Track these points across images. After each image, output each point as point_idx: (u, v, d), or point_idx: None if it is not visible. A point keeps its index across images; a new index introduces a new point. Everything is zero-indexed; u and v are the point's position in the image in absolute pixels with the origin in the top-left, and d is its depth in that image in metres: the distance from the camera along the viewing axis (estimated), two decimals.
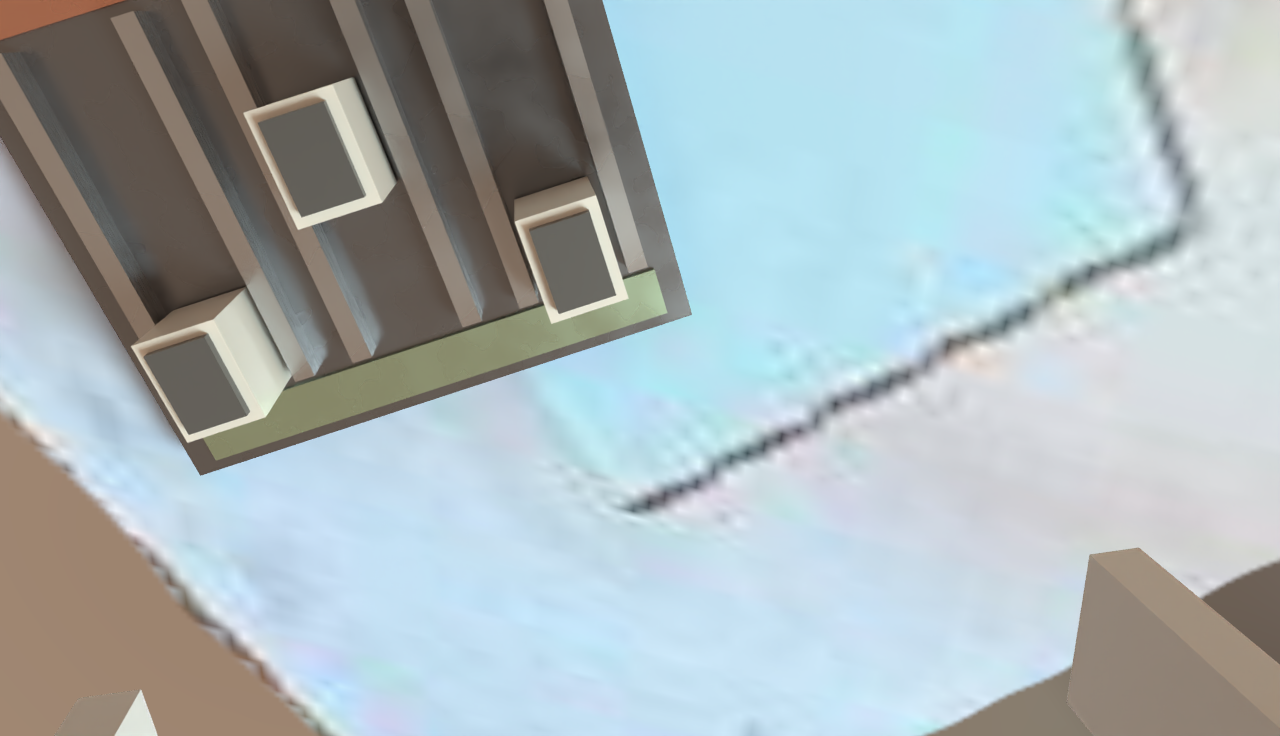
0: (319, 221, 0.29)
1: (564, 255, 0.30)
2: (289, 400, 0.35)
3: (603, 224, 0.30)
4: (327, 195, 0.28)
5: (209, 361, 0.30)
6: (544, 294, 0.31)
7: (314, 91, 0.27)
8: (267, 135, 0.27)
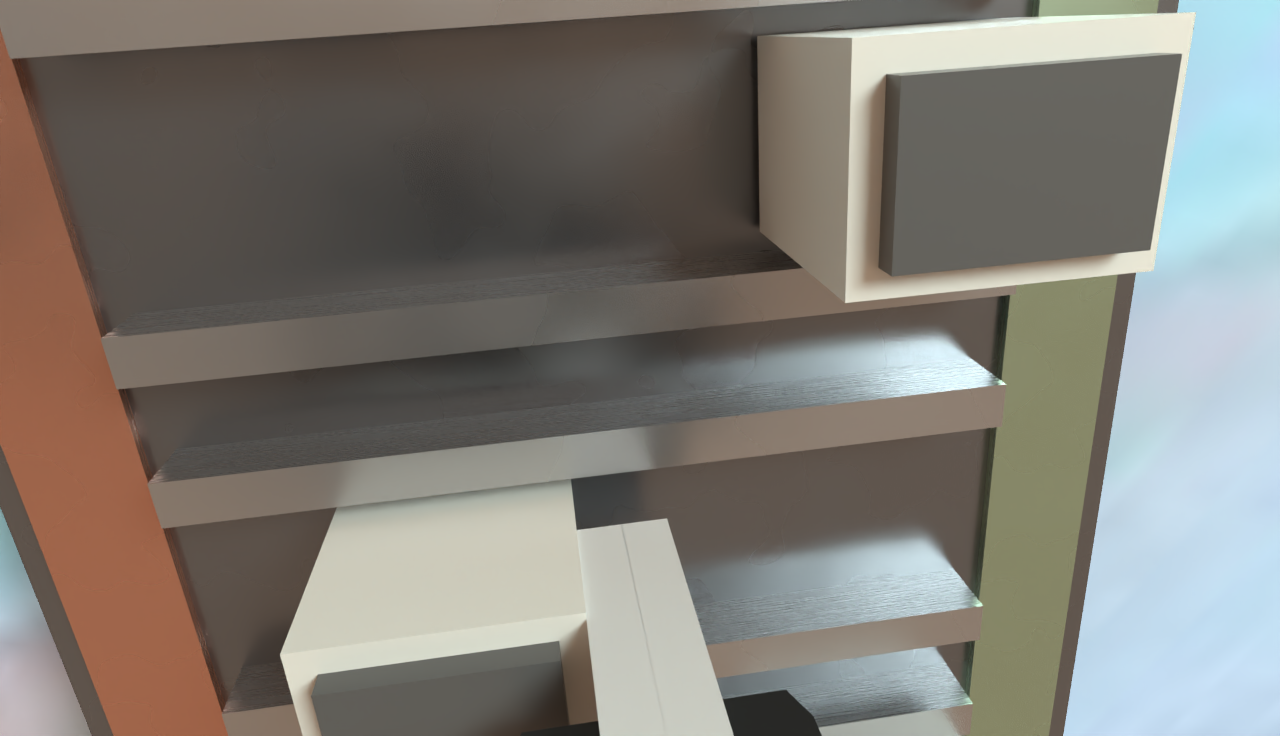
0: None
1: (997, 190, 0.10)
2: (987, 726, 0.19)
3: (946, 36, 0.09)
4: (537, 729, 0.12)
5: None
6: (1068, 269, 0.11)
7: (294, 690, 0.11)
8: None
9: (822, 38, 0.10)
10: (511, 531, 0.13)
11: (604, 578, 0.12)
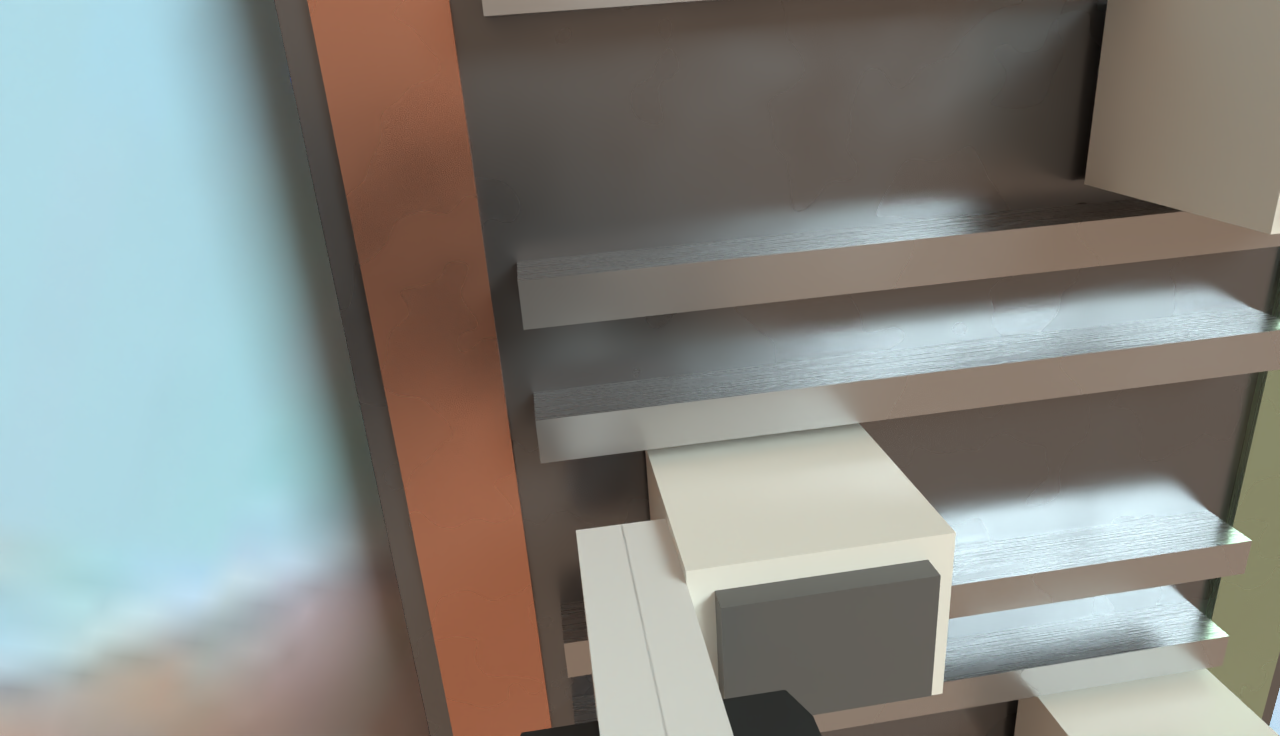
0: (943, 655, 0.13)
1: None
2: None
3: None
4: (908, 642, 0.13)
5: None
6: None
7: None
8: None
9: None
10: (834, 468, 0.14)
11: (604, 579, 0.12)
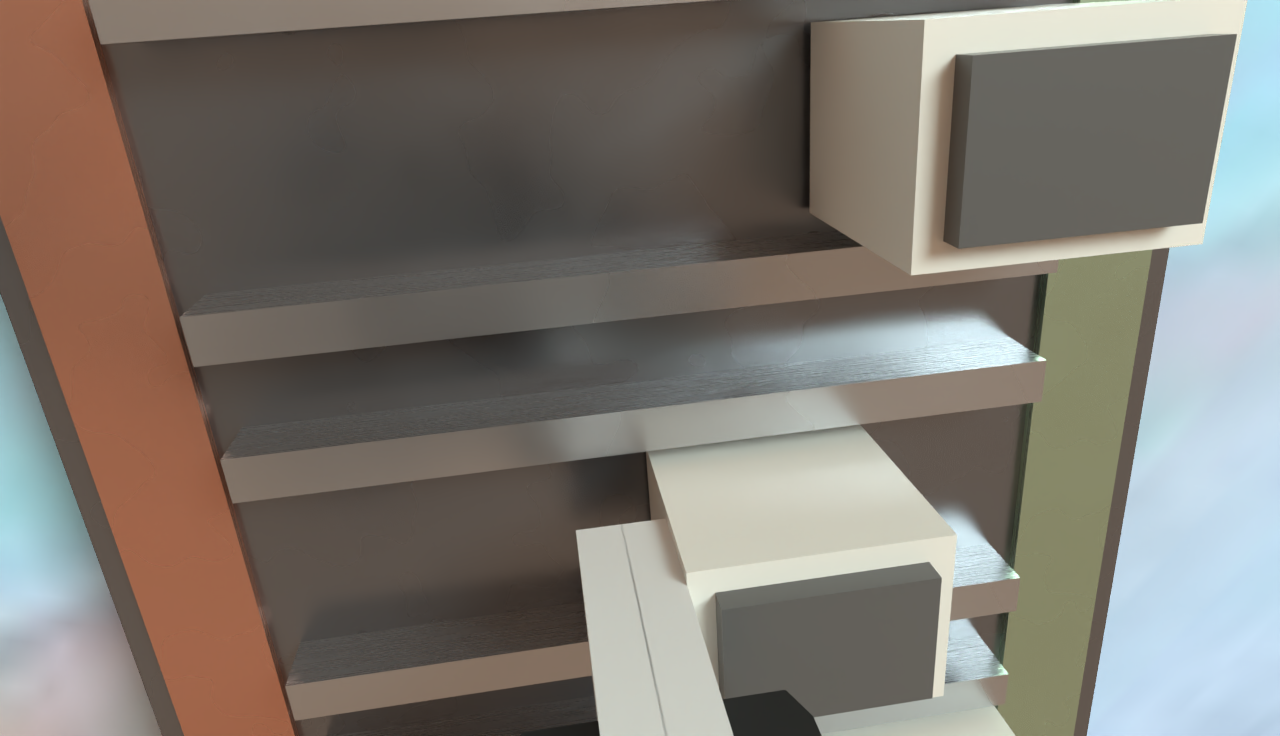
0: (944, 657, 0.13)
1: (1060, 165, 0.10)
2: (1018, 697, 0.19)
3: (1013, 18, 0.10)
4: (909, 644, 0.12)
5: None
6: (1122, 242, 0.11)
7: None
8: None
9: (889, 21, 0.11)
10: (835, 469, 0.14)
11: (604, 578, 0.12)
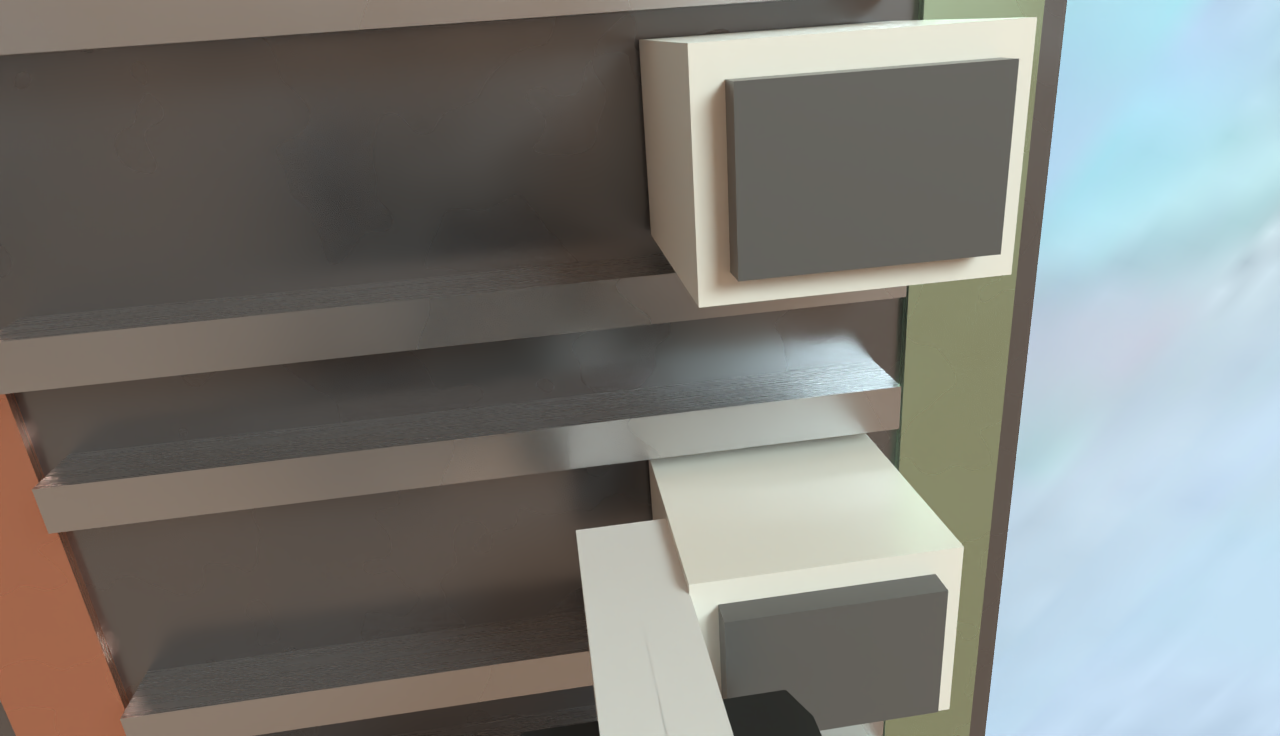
0: (950, 670, 0.13)
1: (840, 195, 0.10)
2: (906, 727, 0.19)
3: (784, 41, 0.09)
4: (915, 657, 0.12)
5: None
6: (924, 273, 0.11)
7: None
8: None
9: (672, 43, 0.10)
10: (840, 478, 0.14)
11: (604, 578, 0.12)
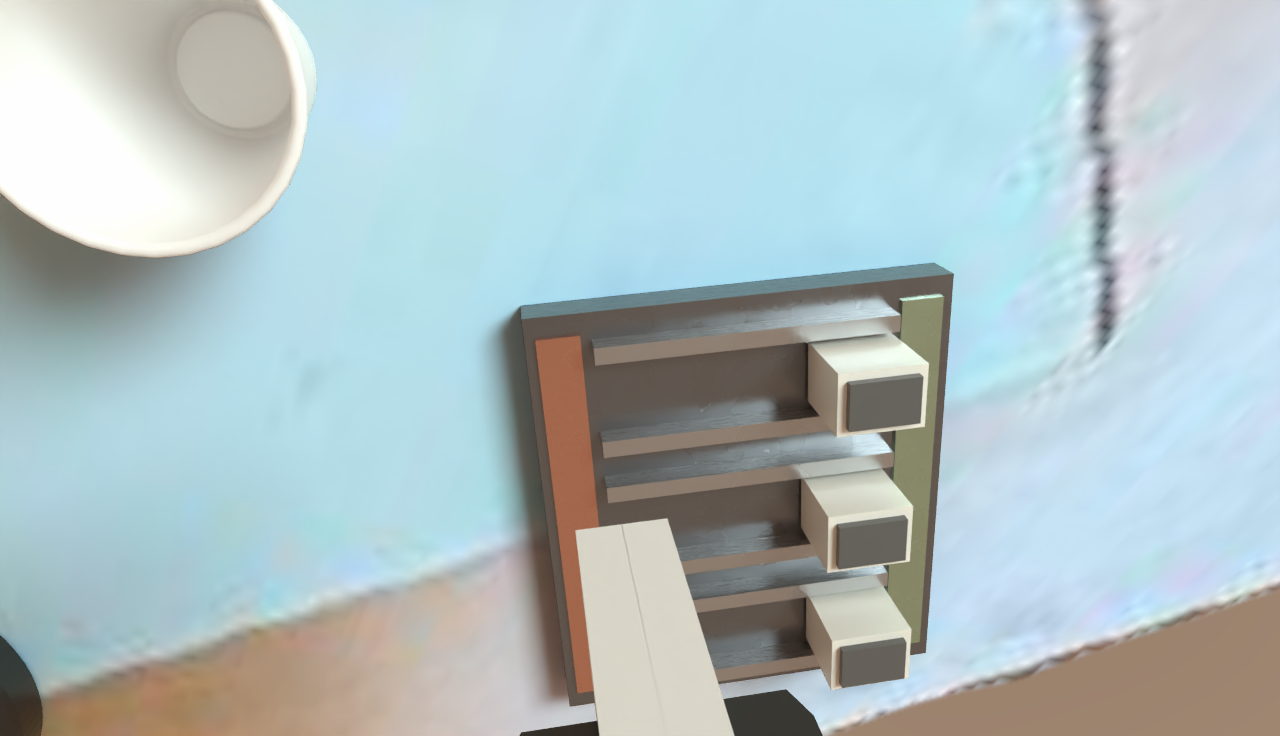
0: (909, 547, 0.40)
1: (876, 410, 0.36)
2: (896, 586, 0.46)
3: (862, 372, 0.36)
4: (898, 541, 0.39)
5: (859, 653, 0.41)
6: (899, 427, 0.37)
7: (829, 529, 0.39)
8: (848, 566, 0.39)
9: (830, 365, 0.37)
10: (872, 484, 0.41)
11: (604, 579, 0.12)
